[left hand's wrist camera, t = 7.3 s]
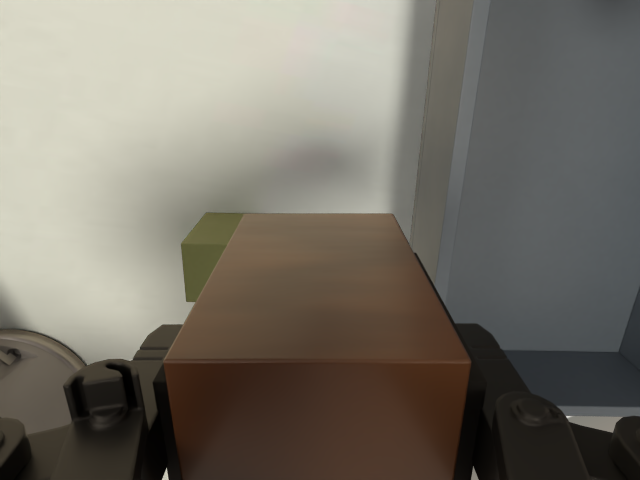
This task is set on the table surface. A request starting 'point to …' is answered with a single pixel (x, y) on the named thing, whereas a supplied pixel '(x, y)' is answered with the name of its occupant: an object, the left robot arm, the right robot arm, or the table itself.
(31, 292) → the table surface
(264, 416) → the walnut block
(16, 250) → the table surface
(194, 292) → the olive block
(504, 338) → the grey box
